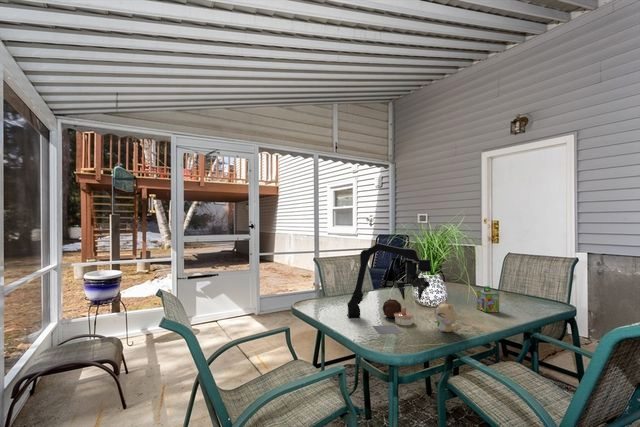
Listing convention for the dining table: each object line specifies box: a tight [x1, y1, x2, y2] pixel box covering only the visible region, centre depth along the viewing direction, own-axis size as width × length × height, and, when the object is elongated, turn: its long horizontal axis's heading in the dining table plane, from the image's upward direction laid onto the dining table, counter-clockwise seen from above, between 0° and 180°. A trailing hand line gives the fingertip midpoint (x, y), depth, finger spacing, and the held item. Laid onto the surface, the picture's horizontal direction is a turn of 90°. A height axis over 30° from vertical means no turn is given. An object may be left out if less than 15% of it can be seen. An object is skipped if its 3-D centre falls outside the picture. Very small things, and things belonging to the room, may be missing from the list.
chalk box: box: [476, 285, 500, 313], centre depth 193 cm, size 9×9×15 cm
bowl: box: [394, 317, 414, 326], centre depth 170 cm, size 9×9×4 cm
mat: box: [372, 324, 404, 335], centre depth 159 cm, size 12×12×1 cm
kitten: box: [434, 298, 462, 333], centre depth 158 cm, size 15×10×15 cm, turn 4°
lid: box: [394, 306, 415, 319], centre depth 170 cm, size 10×10×4 cm
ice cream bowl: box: [382, 299, 403, 319], centre depth 180 cm, size 11×11×15 cm
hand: (411, 299), depth 174 cm, fingers open, 9 cm apart
